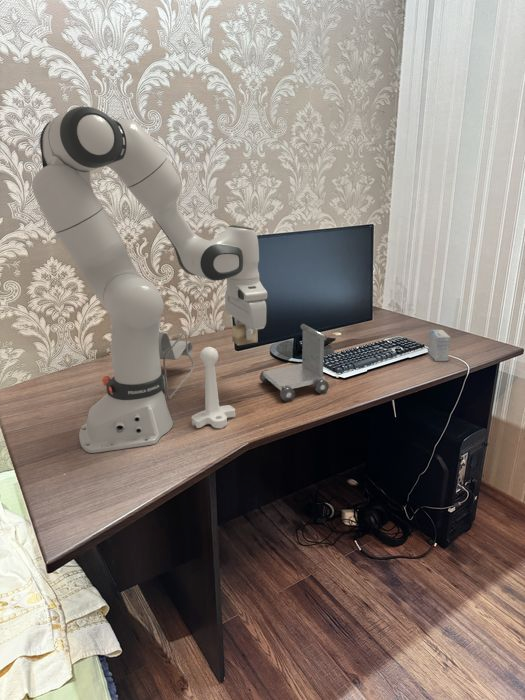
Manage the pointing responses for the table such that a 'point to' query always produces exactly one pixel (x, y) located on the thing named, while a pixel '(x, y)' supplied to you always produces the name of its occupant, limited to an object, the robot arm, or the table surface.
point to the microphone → (328, 340)
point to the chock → (242, 335)
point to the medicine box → (439, 345)
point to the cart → (301, 368)
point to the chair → (174, 353)
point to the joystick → (212, 395)
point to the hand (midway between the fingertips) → (244, 336)
